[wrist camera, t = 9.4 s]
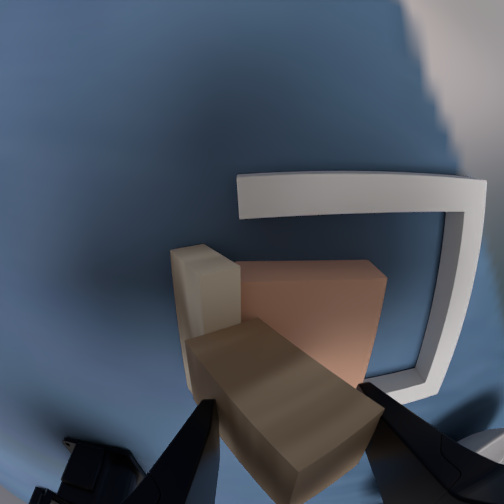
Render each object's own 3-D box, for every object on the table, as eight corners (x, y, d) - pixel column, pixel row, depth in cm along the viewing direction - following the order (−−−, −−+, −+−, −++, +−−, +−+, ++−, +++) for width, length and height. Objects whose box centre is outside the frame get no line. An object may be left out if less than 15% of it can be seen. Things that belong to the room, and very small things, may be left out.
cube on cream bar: (152, 253, 11) (314, 409, 4) (219, 241, 13) (409, 341, 6) (174, 391, 14) (279, 531, 7) (225, 374, 15) (342, 489, 8)
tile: (347, 358, 15) (361, 388, 13) (238, 365, 15) (238, 397, 13) (365, 256, 13) (387, 277, 11) (235, 258, 13) (234, 281, 11)
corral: (427, 379, 16) (437, 393, 14) (255, 409, 16) (256, 428, 14) (467, 176, 12) (486, 180, 10) (237, 174, 12) (236, 177, 10)
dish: (455, 390, 17) (485, 433, 12) (518, 394, 19) (539, 421, 14) (337, 500, 22) (345, 536, 17) (422, 489, 24) (433, 515, 19)
